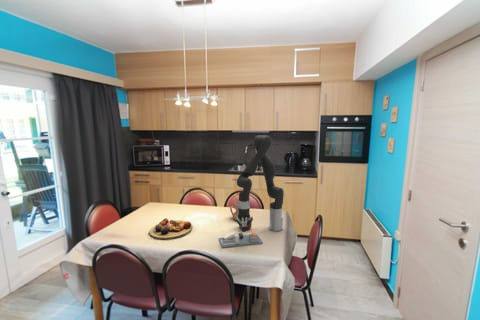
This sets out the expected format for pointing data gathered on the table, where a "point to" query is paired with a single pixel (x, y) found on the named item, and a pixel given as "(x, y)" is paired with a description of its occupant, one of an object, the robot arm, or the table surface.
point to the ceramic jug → (236, 210)
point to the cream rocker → (229, 235)
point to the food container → (246, 226)
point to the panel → (240, 241)
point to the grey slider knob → (236, 238)
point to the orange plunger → (253, 234)
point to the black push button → (240, 235)
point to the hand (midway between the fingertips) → (243, 231)
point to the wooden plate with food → (170, 229)
